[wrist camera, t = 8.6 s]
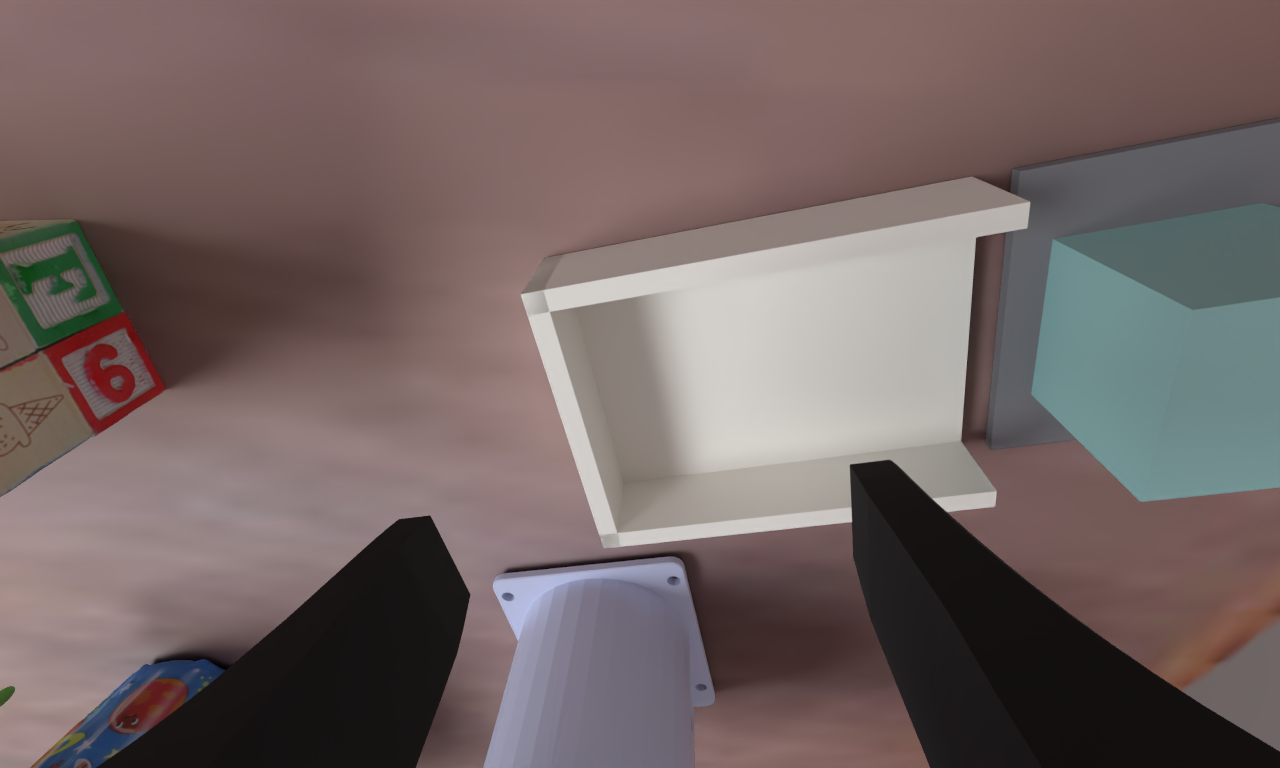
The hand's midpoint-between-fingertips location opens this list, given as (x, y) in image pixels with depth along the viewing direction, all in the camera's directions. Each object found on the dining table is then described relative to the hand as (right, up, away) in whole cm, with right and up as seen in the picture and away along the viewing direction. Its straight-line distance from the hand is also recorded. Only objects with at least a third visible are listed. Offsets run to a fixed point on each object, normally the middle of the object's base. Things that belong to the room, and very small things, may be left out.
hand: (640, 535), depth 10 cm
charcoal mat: (+14, +5, +7) cm, 17 cm away
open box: (+4, +3, +9) cm, 10 cm away
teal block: (+14, +5, +7) cm, 16 cm away
